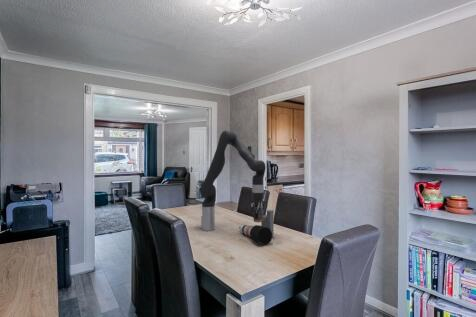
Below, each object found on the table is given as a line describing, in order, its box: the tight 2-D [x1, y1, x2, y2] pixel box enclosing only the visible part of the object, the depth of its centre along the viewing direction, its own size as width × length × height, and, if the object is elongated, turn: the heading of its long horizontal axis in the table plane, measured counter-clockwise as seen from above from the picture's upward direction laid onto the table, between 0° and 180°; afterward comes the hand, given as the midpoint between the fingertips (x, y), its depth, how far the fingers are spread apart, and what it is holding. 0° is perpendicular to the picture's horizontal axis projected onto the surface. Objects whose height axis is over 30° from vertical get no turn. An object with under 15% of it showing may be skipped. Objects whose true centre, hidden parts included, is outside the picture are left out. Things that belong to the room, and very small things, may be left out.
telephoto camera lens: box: [238, 224, 273, 245], centre depth 172 cm, size 10×34×10 cm, turn 23°
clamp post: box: [260, 209, 275, 238], centre depth 173 cm, size 7×4×18 cm, turn 51°
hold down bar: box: [253, 209, 267, 223], centre depth 172 cm, size 4×17×8 cm, turn 140°
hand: (257, 217), depth 167 cm, fingers closed on hold down bar, 4 cm apart
